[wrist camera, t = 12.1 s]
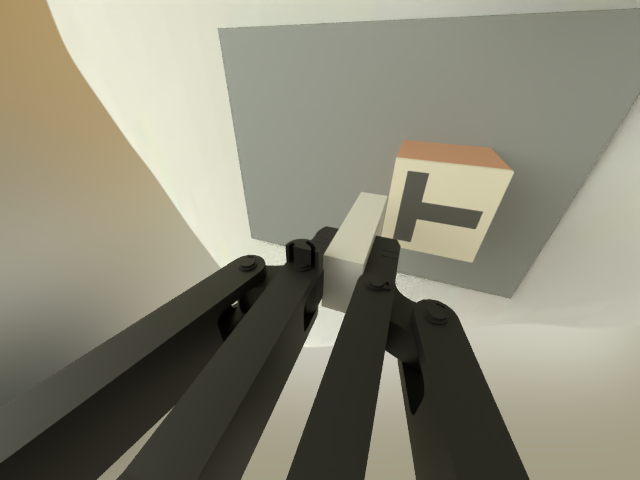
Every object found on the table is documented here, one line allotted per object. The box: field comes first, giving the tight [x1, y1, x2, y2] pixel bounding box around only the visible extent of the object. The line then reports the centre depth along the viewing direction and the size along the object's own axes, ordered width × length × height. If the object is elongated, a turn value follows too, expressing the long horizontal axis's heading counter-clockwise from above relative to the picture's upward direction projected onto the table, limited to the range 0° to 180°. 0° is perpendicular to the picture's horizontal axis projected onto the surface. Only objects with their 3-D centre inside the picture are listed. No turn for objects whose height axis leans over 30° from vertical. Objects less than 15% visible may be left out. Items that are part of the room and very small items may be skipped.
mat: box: [218, 8, 640, 298], centre depth 21 cm, size 20×28×1 cm
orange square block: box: [381, 140, 514, 263], centre depth 18 cm, size 6×6×6 cm
